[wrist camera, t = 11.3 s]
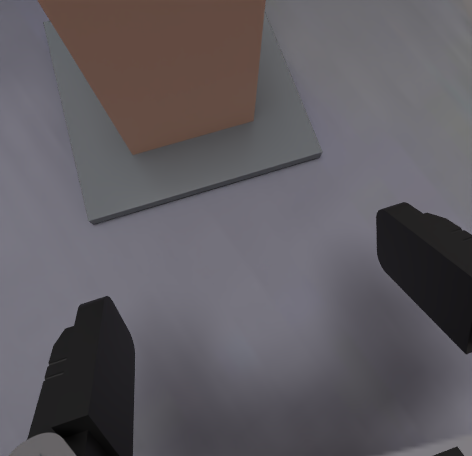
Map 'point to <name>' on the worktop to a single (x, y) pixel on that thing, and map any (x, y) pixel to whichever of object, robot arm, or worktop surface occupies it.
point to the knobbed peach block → (165, 63)
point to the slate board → (185, 152)
